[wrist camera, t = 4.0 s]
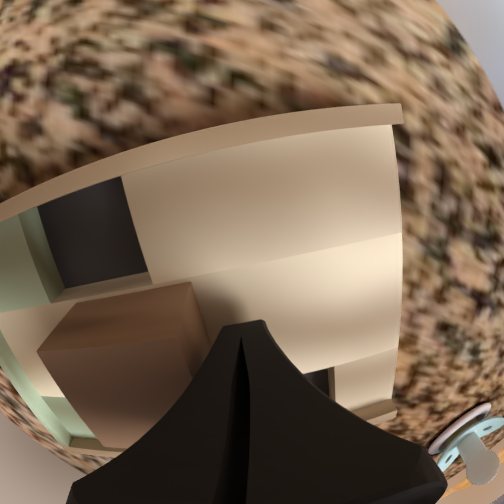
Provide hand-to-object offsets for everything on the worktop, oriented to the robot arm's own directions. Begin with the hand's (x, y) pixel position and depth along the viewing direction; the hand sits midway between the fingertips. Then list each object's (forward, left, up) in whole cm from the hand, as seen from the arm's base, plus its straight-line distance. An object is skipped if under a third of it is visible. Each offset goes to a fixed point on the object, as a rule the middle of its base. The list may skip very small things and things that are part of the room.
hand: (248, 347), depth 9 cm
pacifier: (-17, -15, -3) cm, 22 cm away
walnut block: (0, +4, -1) cm, 4 cm away
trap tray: (0, +3, -2) cm, 4 cm away
